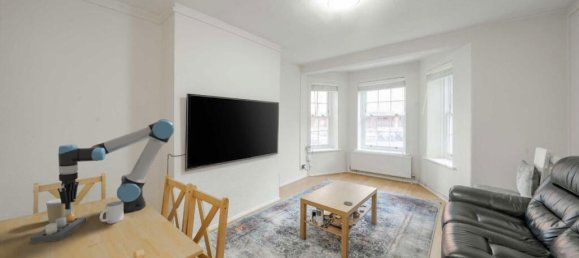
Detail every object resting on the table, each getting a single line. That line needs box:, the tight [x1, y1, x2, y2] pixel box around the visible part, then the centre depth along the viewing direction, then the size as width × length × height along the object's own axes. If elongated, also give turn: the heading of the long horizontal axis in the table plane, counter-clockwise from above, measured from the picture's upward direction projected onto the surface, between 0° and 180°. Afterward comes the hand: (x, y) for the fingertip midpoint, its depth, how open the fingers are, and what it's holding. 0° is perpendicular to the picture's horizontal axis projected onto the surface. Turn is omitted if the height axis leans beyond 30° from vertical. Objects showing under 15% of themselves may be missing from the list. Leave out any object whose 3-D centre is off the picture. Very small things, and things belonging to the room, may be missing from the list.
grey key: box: [56, 217, 66, 229], centre depth 120 cm, size 4×4×5 cm
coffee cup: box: [45, 197, 65, 224], centre depth 131 cm, size 9×9×12 cm
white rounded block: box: [44, 223, 57, 236], centre depth 113 cm, size 4×4×5 cm
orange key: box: [65, 212, 76, 223], centre depth 126 cm, size 4×4×5 cm
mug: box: [99, 200, 125, 225], centre depth 131 cm, size 12×8×10 cm
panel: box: [30, 217, 87, 244], centre depth 120 cm, size 12×20×2 cm, turn 14°
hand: (69, 214), depth 126 cm, fingers closed
